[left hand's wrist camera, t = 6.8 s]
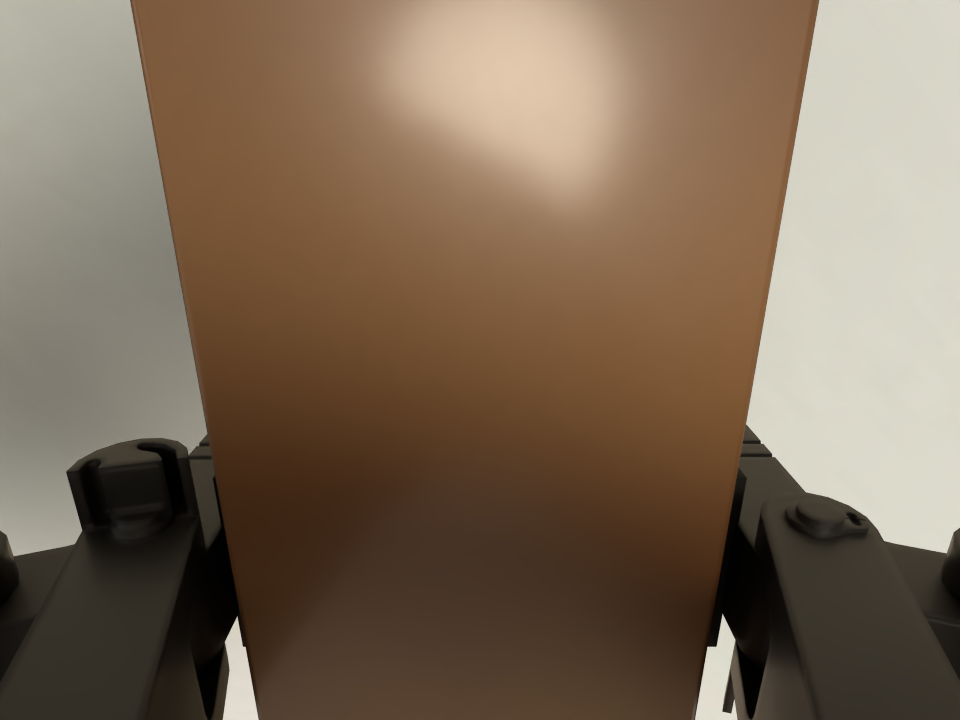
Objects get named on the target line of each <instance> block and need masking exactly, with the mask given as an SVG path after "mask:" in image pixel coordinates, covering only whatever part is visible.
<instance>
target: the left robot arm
mask: <svg viewBox="0 0 960 720" xmlns="http://www.w3.org/2000/svg"><path fill="white" fill-rule="evenodd" d="M66 473H67V477H68V480H69V484H70V487H71V491H72V494H73V498H74V502H75V505H76V509H77V512H78V516H79V520H80V523H81V527H82V530H83V531H82V532H81V534H80V536H79V538H78V540H77V542H76V543H75V544H74V545H70V546H66V547H61V548H56V549H50V550H45V551H40V552H35V553H29V554H24V555H19V556H13V553H12V550H11V547H10V544H9V541H8V538H7V535H5V534H4V533H3V532H1V531H0V720H223V713H224V706H225V699H226V691H227V684H228V677H229V663H228V656H227V651H226V646H225V640H226V638H227V636H228V634H229V632H230V630H231V628H232V626H233V624H234V622H235V620H236V618H237V616H238V621H239V627H240V632H241V638H242V643H243V647H246V645H245V640H244V634H243V629H242V623H241V617H240V612H239V606H238V601H237V595H236V589H235V584H234V578H233V573H232V567H231V561H230V556H229V550H228V545H227V539H226V533H225V528H224V522H223V517H222V511H221V505H220V500H219V494H218V489H217V483H216V477H215V472H214V466H213V461H212V455H211V449H210V444H209V438H208V434H207V435H206V436H205V437H204V438H203V440H202V441H201V442H200V443H199V446H197V447H196V448H195V449H194V450H193V451H192V452H191V453H190V455H189V456H188V451H187V448H186V447H185V446H184V445H182V444H181V443H179V442H178V441H174V440H169V439H164V438H150V439H137V440H132V441H127V442H122V443H117V444H114V445H111V446H109V447H106V448H103V449H100V450H97V451H95V452H93V453H91V454H89V455H88V456H86V457H84V458H82V459H80V460H78V461H77V462H76V463H75V464H74V465H73V466H72V467H71V468H70V469H69V470H68V471H67V472H66ZM722 613H723V615H724V617H725V619H726V621H727V623H728V625H729V627H730V629H731V632H732V634H733V636H734V638H735V640H736V641H735V646H734V651H733V656H732V661H731V666H730V671H729V676H728V682H727V687H726V692H725V697H724V704H723V711H722V712H727V713H731V712H732V707H733V702H734V699H735V704H736V712H737V719H738V720H960V528H959V529H958V530H956V531H955V532H954V534H953V537H952V540H951V543H950V546H949V549H948V552H947V554H946V553H941V552H935V551H930V550H925V549H920V548H914V547H909V546H904V545H899V544H894V543H890V542H886V541H884V540H883V539H882V537H881V535H880V533H879V531H878V530H877V528H876V527H875V526H874V525H873V524H872V523H871V522H870V520H869V519H868V518H867V517H866V516H864V515H863V514H861V513H860V512H858V511H856V510H855V509H853V508H852V507H850V506H848V505H846V504H843V503H841V502H838V501H836V500H834V499H831V498H829V497H824V496H820V495H815V494H811V493H806V492H805V491H804V490H803V489H802V488H801V486H800V485H799V484H798V483H797V482H796V481H795V480H794V478H793V477H792V476H791V475H790V474H789V473H788V472H787V470H786V469H785V468H784V467H783V466H782V465H781V464H780V462H779V461H778V460H777V459H776V458H775V457H772V453H771V452H770V451H769V450H768V449H767V448H766V446H765V445H764V444H761V441H760V440H759V439H758V437H757V436H756V435H755V434H754V433H753V432H752V431H751V429H750V428H749V427H748V426H747V425H746V426H745V432H744V438H743V444H742V449H741V455H740V461H739V467H738V473H737V478H736V484H735V490H734V496H733V501H732V507H731V513H730V519H729V525H728V530H727V536H726V542H725V548H724V554H723V559H722V565H721V571H720V577H719V582H718V588H717V594H716V600H715V606H714V611H713V617H712V623H711V629H710V635H709V640H708V646H707V647H716V646H717V641H718V635H719V630H720V624H721V619H722Z"/></svg>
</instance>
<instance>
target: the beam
mask: <svg viewBox="0 0 960 720" xmlns="http://www.w3.org/2000/svg"><path fill="white" fill-rule="evenodd" d="M130 2H131V7H132V13H133V18H134V24H135V30H136V35H137V41H138V46H139V52H140V58H141V63H142V69H143V74H144V80H145V86H146V91H147V97H148V102H149V108H150V114H151V119H152V125H153V130H154V136H155V142H156V147H157V153H158V158H159V164H160V170H161V175H162V181H163V186H164V192H165V198H166V203H167V209H168V214H169V220H170V226H171V231H172V237H173V242H174V248H175V254H176V259H177V265H178V270H179V276H180V282H181V287H182V293H183V298H184V304H185V310H186V315H187V321H188V326H189V332H190V338H191V343H192V349H193V354H194V360H195V365H196V371H197V377H198V382H199V388H200V393H201V399H202V405H203V410H204V416H205V421H206V427H207V433H208V438H209V444H210V449H211V455H212V461H213V466H214V472H215V477H216V483H217V489H218V494H219V500H220V505H221V511H222V517H223V522H224V528H225V533H226V539H227V545H228V550H229V556H230V561H231V567H232V573H233V578H234V584H235V589H236V595H237V601H238V606H239V612H240V617H241V623H242V629H243V634H244V640H245V645H246V651H247V657H248V662H249V668H250V673H251V679H252V685H253V690H254V696H255V701H256V707H257V713H258V718H259V720H695V715H696V710H697V704H698V698H699V692H700V687H701V681H702V675H703V669H704V663H705V658H706V652H707V646H708V640H709V635H710V629H711V623H712V617H713V611H714V606H715V600H716V594H717V588H718V582H719V577H720V571H721V565H722V559H723V554H724V548H725V542H726V536H727V530H728V525H729V519H730V513H731V507H732V501H733V496H734V490H735V484H736V478H737V473H738V467H739V461H740V455H741V449H742V444H743V438H744V432H745V426H746V421H747V415H748V409H749V403H750V397H751V392H752V386H753V380H754V374H755V368H756V363H757V357H758V351H759V345H760V340H761V334H762V328H763V322H764V316H765V311H766V305H767V299H768V293H769V287H770V282H771V276H772V270H773V264H774V259H775V253H776V247H777V241H778V235H779V230H780V224H781V218H782V212H783V206H784V201H785V195H786V189H787V183H788V178H789V172H790V166H791V160H792V154H793V149H794V143H795V137H796V131H797V126H798V120H799V114H800V108H801V102H802V97H803V91H804V85H805V79H806V73H807V68H808V62H809V56H810V50H811V45H812V39H813V33H814V27H815V21H816V16H817V10H818V4H819V0H130Z"/></svg>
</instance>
